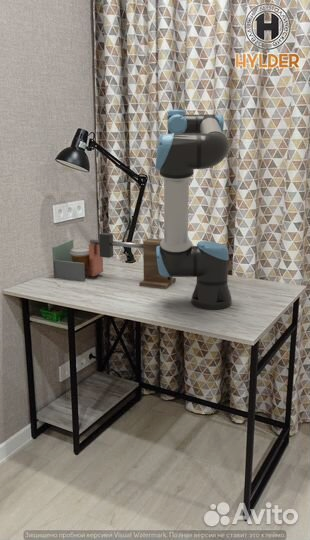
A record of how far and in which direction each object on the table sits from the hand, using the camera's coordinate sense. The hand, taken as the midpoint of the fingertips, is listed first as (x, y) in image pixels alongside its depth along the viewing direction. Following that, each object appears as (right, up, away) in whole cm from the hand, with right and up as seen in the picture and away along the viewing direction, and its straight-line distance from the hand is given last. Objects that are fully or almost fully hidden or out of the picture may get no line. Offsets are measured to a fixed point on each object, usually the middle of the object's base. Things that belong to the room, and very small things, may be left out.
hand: (176, 198), depth 230 cm
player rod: (-24, -34, +4) cm, 42 cm away
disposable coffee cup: (-42, -33, +11) cm, 55 cm away
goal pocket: (-44, -33, +12) cm, 56 cm away
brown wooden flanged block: (-8, -37, -2) cm, 38 cm away
